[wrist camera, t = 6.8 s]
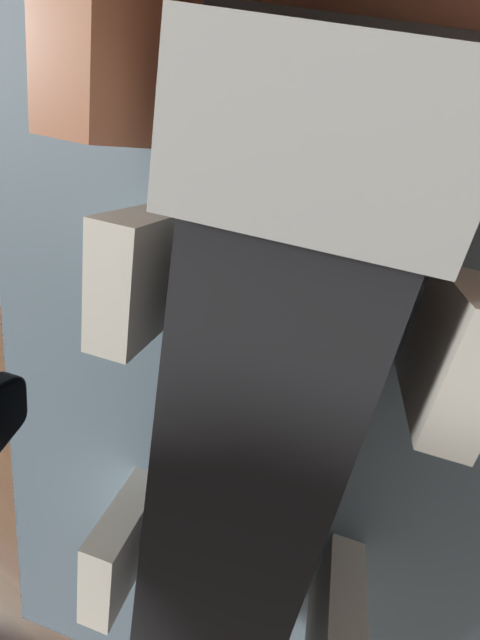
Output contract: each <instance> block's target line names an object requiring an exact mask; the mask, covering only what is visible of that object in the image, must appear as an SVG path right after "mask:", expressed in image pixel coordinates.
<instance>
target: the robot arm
mask: <svg viewBox="0 0 480 640" xmlns="http://www.w3.org/2000/svg"><path fill="white" fill-rule="evenodd" d="M27 411H28V409H27V387H26V381H25V379H24V378H23V377H21V376H18V375H15V374H12V373H9V372H0V452H1V451H2V450H3V448H4V447H5V446H6V445H7V443H8V442H9V441H10V440H11V439H12V437H13V436H14V435H15V434H16V432H17V431H18V430H19V429H20V427H21V426H22V425H23V423H24V422H25V419H26V417H27Z"/></svg>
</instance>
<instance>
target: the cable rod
mask: <svg viewBox="0 0 480 640" xmlns="http://www.w3.org/2000/svg"><path fill="white" fill-rule="evenodd" d="M146 212H150V213H155V214H159V215H163V216H168V217H172V218H175V225H174V235H173V244H172V253H171V262H170V272H169V281H168V290H167V299H166V309H165V318H164V327H163V336H162V346H161V355H160V364H159V373H158V383H157V392H156V401H155V410H154V420H153V429H152V438H151V447H150V457H149V466H148V475H147V484H146V494H145V503H144V512H143V521H142V531H141V540H140V549H139V558H138V568H137V577H136V586H135V595H134V605H133V614H132V623H131V632H130V640H289V639H290V636H291V633H292V631H293V628H294V625H295V623H296V620H297V617H298V615H299V612H300V609H301V607H302V604H303V601H304V599H305V596H306V593H307V591H308V588H309V585H310V583H311V580H312V577H313V575H314V572H315V569H316V566H317V564H318V561H319V558H320V556H321V553H322V550H323V548H324V545H325V542H326V540H327V537H328V534H329V532H330V529H331V526H332V524H333V521H334V518H335V516H336V513H337V510H338V508H339V505H340V502H341V499H342V497H343V494H344V491H345V489H346V486H347V483H348V481H349V478H350V475H351V473H352V470H353V467H354V465H355V462H356V459H357V457H358V454H359V451H360V449H361V446H362V443H363V441H364V438H365V435H366V433H367V430H368V427H369V424H370V422H371V419H372V416H373V414H374V411H375V408H376V406H377V403H378V400H379V398H380V395H381V392H382V390H383V387H384V384H385V382H386V379H387V376H388V374H389V371H390V368H391V366H392V363H393V360H394V357H395V355H396V352H397V349H398V347H399V344H400V341H401V339H402V336H403V333H404V331H405V328H406V325H407V323H408V320H409V317H410V315H411V312H412V309H413V307H414V304H415V301H416V299H417V296H418V293H419V291H420V288H421V285H422V282H423V280H424V277H425V275H426V276H430V277H434V278H439V279H443V280H448V281H452V282H455V281H456V278H457V276H458V274H459V271H460V269H461V266H462V264H463V261H464V259H465V256H466V254H467V251H468V249H469V247H470V244H471V242H472V239H473V237H474V234H475V232H476V229H477V227H478V224H479V222H480V43H479V42H472V41H464V40H457V39H450V38H442V37H435V36H428V35H420V34H413V33H406V32H399V31H391V30H384V29H377V28H369V27H362V26H355V25H348V24H340V23H333V22H326V21H318V20H311V19H304V18H296V17H289V16H282V15H275V14H267V13H260V12H253V11H245V10H238V9H231V8H224V7H216V6H209V5H202V4H194V3H187V2H180V1H172V0H163V7H162V19H161V32H160V45H159V57H158V70H157V83H156V95H155V108H154V120H153V133H152V146H151V158H150V171H149V183H148V196H147V209H146Z"/></svg>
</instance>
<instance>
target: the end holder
mask: <svg viewBox="0 0 480 640" xmlns="http://www.w3.org/2000/svg"><path fill="white" fill-rule="evenodd" d="M172 1H180V2H187V3H194V4H202V5H204V0H172ZM247 1H255V2H262V3H270V4H278V5H285V6H293V7H301V8H308V9H316V10H324V11H331V12H339V13H347V14H354V15H362V16H370V17H377V18H385V19H393V20H400V21H408V22H416V23H424V24H431V25H439V26H447V27H454V28H462V29H470V30H477V31H480V0H247ZM24 2H25V32H26V61H27V91H28V120H29V133H31V134H36V135H41V136H46V137H51V138H56V139H61V140H66V141H71V142H76V143H81V144H86V145H95V146H112V147H129V148H146V149H151V146H152V133H153V120H154V108H155V95H156V83H157V70H158V57H159V45H160V32H161V19H162V7H163V0H24Z"/></svg>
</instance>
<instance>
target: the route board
mask: <svg viewBox="0 0 480 640" xmlns="http://www.w3.org/2000/svg"><path fill="white" fill-rule="evenodd" d="M204 5H209V6H216V7H224V8H231V9H238V10H245V11H253V12H260V13H267V14H275V15H282V16H289V17H296V18H304V19H311V20H318V21H326V22H333V23H340V24H348V25H355V26H362V27H369V28H377V29H384V30H391V31H399V32H406V33H413V34H420V35H428V36H435V37H442V38H450V39H457V40H464V41H472V42H479V43H480V31H477V30H470V29H462V28H454V27H447V26H439V25H431V24H424V23H416V22H408V21H400V20H393V19H385V18H377V17H370V16H362V15H354V14H347V13H339V12H331V11H324V10H316V9H308V8H301V7H293V6H285V5H278V4H270V3H262V2H255V1H247V0H204ZM150 158H151V149H146V148H129V147H112V146H95V145H86V144H81V143H76V142H71V141H66V140H61V139H56V138H51V137H46V136H41V135H36V134H31V133H29V120H28V91H27V61H26V32H25V2H24V0H0V304H1V318H2V332H3V346H4V361H5V372H9V373H12V374H15V375H18V376H21V377H23V378H24V379H25V381H26V387H27V409H28V411H27V417H26V419H25V422H24V423H23V425H22V426H21V427H20V429H19V430H18V431H17V432H16V434H15V435H14V436H13V437H12V439H11V440H10V446H11V460H12V474H13V489H14V503H15V517H16V531H17V545H18V560H19V574H20V588H21V602H22V617H23V618H24V619H27V620H29V621H31V622H34V623H36V624H38V625H41V626H43V627H46V628H48V629H50V630H53V631H55V632H57V633H60V634H62V635H64V636H67V637H69V638H72V639H74V640H130V632H131V623H132V614H133V605H134V595H135V586H136V577H137V568H138V558H139V549H140V540H141V531H142V521H143V512H144V503H145V494H146V484H147V475H148V466H149V457H150V447H151V438H152V429H153V420H154V410H155V401H156V392H157V383H158V373H159V364H160V355H161V346H162V336H163V327H164V318H165V309H166V299H167V290H168V281H169V272H170V262H171V253H172V244H173V235H174V225H175V218H172V217H168V216H163V215H159V214H155V213H150V212H146V209H147V196H148V183H149V171H150ZM289 640H480V222H479V224H478V227H477V229H476V232H475V234H474V237H473V239H472V242H471V244H470V247H469V249H468V251H467V254H466V256H465V259H464V261H463V264H462V266H461V269H460V271H459V274H458V276H457V278H456V281H455V282H452V281H448V280H443V279H439V278H434V277H430V276H426V275H425V277H424V280H423V282H422V285H421V288H420V291H419V293H418V296H417V299H416V301H415V304H414V307H413V309H412V312H411V315H410V317H409V320H408V323H407V325H406V328H405V331H404V333H403V336H402V339H401V341H400V344H399V347H398V349H397V352H396V355H395V357H394V360H393V363H392V366H391V368H390V371H389V374H388V376H387V379H386V382H385V384H384V387H383V390H382V392H381V395H380V398H379V400H378V403H377V406H376V408H375V411H374V414H373V416H372V419H371V422H370V424H369V427H368V430H367V433H366V435H365V438H364V441H363V443H362V446H361V449H360V451H359V454H358V457H357V459H356V462H355V465H354V467H353V470H352V473H351V475H350V478H349V481H348V483H347V486H346V489H345V491H344V494H343V497H342V499H341V502H340V505H339V508H338V510H337V513H336V516H335V518H334V521H333V524H332V526H331V529H330V532H329V534H328V537H327V540H326V542H325V545H324V548H323V550H322V553H321V556H320V558H319V561H318V564H317V566H316V569H315V572H314V575H313V577H312V580H311V583H310V585H309V588H308V591H307V593H306V596H305V599H304V601H303V604H302V607H301V609H300V612H299V615H298V617H297V620H296V623H295V625H294V628H293V631H292V633H291V636H290V639H289Z"/></svg>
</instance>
